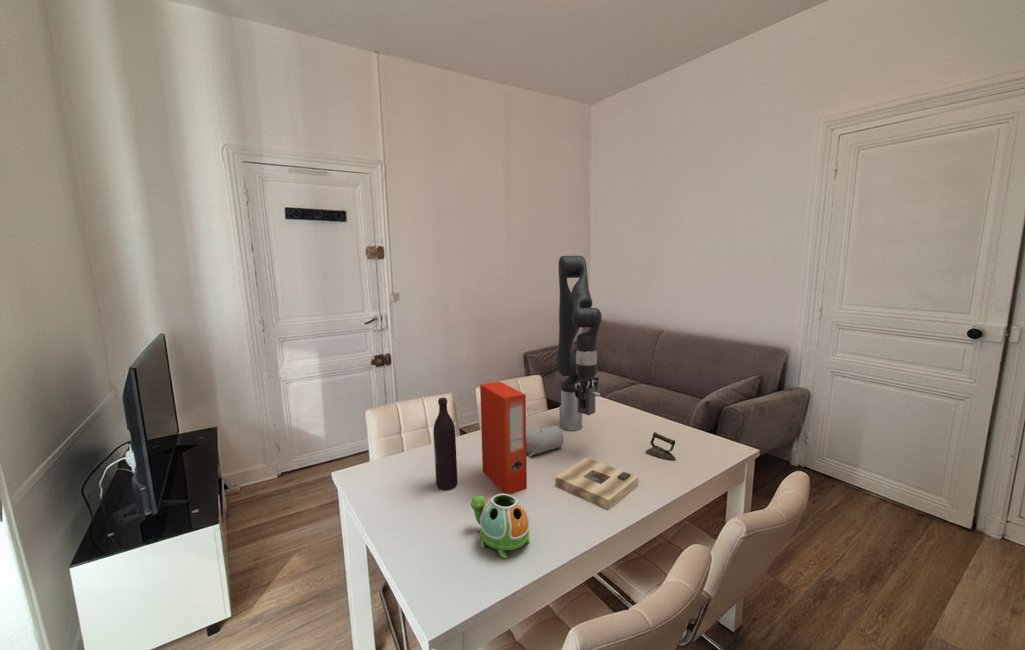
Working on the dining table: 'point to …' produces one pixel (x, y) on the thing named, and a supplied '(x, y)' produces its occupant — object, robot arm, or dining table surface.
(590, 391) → the plug
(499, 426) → the file binder
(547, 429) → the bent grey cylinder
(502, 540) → the turtle holder
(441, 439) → the wine bottle
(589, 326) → the robot arm
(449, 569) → the dining table surface
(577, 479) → the socket board
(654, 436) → the clothes iron
